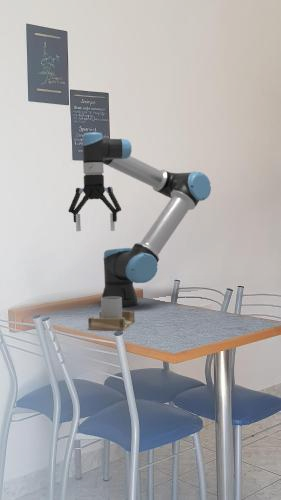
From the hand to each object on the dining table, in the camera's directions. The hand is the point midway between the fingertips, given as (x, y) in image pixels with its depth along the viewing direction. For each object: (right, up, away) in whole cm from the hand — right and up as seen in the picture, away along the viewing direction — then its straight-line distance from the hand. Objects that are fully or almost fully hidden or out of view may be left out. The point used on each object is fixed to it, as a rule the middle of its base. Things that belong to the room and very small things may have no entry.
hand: (95, 231), depth 245 cm
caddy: (+7, -33, -21) cm, 40 cm away
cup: (+7, -33, -20) cm, 39 cm away
